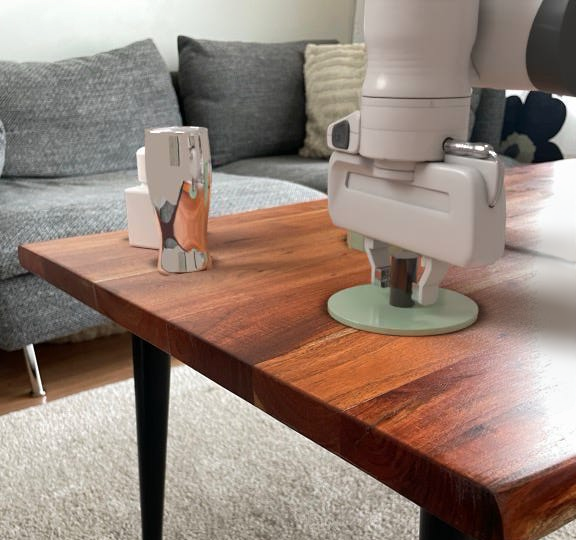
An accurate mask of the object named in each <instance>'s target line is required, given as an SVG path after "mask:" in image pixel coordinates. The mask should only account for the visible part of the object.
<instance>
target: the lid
mask: <svg viewBox="0 0 576 540" xmlns="http://www.w3.org/2000/svg"><path fill="white" fill-rule="evenodd" d="M419 259H420V256H418V255H417V254H414V253H409V252H398V253H394V254H392V256H391V258H390V262H391V274H390V287H387V288H381V287H378V286H375V285H373V284H372V283H368V284H360V285H356V286H351V287H348V288H344V289H341V290H339V291H337V292H335V293H334V294H332V295H331V296H330V297H329V298H328V299H327V300H328V301H327V313H328V314H329V315H330V317H331V318H332V319H334V320H335V321H337V322H339V323H341V324H343V325H345V326H347V327H350V328H352V329H357V330H360V331H364V332H368V333H374V334H381V335H388V336H389V335H390V336H400V337H401V336H402V337H420V336H421V337H424V336H436V335H444V334H449V333H453V332H456V331H460V330H462V329H465V328H467V327H470V326H471V325H472V324H474V323H475V322H476V321H477V319H478V316H479V306H478V304H477V303H476V302H475V300H473V299H472V298H470V297H468V296H466V295H464V294H463V293H460V292H457V291H454V290H451V289H448V288H444V287H440V286H439V288H438V299H437V301H436V303H434V304H431V305H426V306H424V305H421V304H419V303H417V302H414V301H413V300H412V299H411V295H412V293H413V292H412V283H414V282H418V274H419V273H418V272H419Z"/></svg>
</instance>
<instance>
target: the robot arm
mask: <svg viewBox="0 0 576 540" xmlns="http://www.w3.org/2000/svg"><path fill="white" fill-rule="evenodd" d="M363 9H364V10H363V32H362V33H363V42H364V47H365V52H366V60H367V61H366V72H365V77H364V81H363V83H362V87H361V93H360V95H361V97H360V109H357V110H355V111H353V112H352V113H350V114H348V115H347V116H345V117H344V116H343V117H342V118H340V119H337V120H336V121H334V122H332V123H330V124H329V125H328V127H327V130H326V142H327V146H328V148H329V149H330V150H333V152H332V153H331V155H330V157H329V162H328V167H327V211H328V214H329V215H328V216H329V217H330V220H331V222H332V225H333V226H334V227H337V228H339V229H341V230H346V231H347V230H349V231H352V232H355V233H358V234H361V235H364V236H365V245H364V247H365V250H366V252H365V253H366V256H367V259H368V262H369V265H370V267H371V277H370V282H371V284H373V285H375V286H378V287H381V288H387V287H390V274H391V258H390V256H389V252H388V247H390V246H391V245H394V246H397V247H400V248H403V249H406V250H409V251H412V252H415V253H418V254H421V255H422V256H420V258H421V259H420V266H421V268H424V271H423V273H422V275H421V277H420V278H419V279H420V280H419V281H417V282H414V283H412V292H413V293H412V295H411V299H412V300H413V301H414V302H417V303H419V304H421V305H424V306H426V305H431V304H434V303H436V301H437V299H438V288H439V287H440V286H439V285H440V284H441V283H442V281H443V280H444V278H445V277H446V275H447V273H448V272H449V271H450V269H451V266H454V267H457V268H461V269H463V270H473V269H480V268H485V267H490V266H494V265H495V264H496V263H497V262H498V261H499V260H500V258H501V257H502V256H503V255H504V252H505V247H506V246H505V245H506V233H507V232H506V230H507V196H506V195H507V193H506V184H505V175H506V168H505V163H504V161H502V159H501V157H500V156H499V154H498V153H497V151H495V150H494V147H493V146H492V145H491V144H489V143H486V142H471V141H468V133H469V123H470V111H471V101H472V88H480V89H481V88H482V89H493V90H497V91H498V90H502V91H527V92H529V91H530V92H531V91H532V92H542V93H545V94H551V95H557V96H564V97H571V98H576V0H364V8H363ZM491 158H492V159H491Z"/></svg>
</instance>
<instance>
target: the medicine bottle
mask: <svg viewBox="0 0 576 540" xmlns="http://www.w3.org/2000/svg"><path fill="white" fill-rule="evenodd" d="M135 154H136V165H137V178H138V181H139V182H140V183H141V185H136V186H131V187H128V188H127V187H126V188H125V189H124V191H123V193H124V202H125V203H124V204H125V213H126V214H125V215H126V222H127V224H126V225H127V233H128V234H127V235H128V243H129V246H130V247H135V248H144V249H150V250H151V249H152V250H159V234H158V228H157V224H156V220H155V216H154V212H153V208H152V204H151V200H150V196H149V191H148V186H147V179H146V168H145V145H144V146H142V147H140V148H139V149H137V151H136V152H135Z"/></svg>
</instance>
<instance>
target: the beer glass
mask: <svg viewBox="0 0 576 540" xmlns="http://www.w3.org/2000/svg"><path fill="white" fill-rule="evenodd" d="M143 130H144V146H145V168H146V179H147V186H148V191H149V196H150V200H151V204H152V208H153V212H154V216H155V220H156V224H157V228H158V234H159V249H158V260H157V271H158V273H159V274H161V275H163V276H167V277H170V276H178V275H183V274H192V273H197V272H204V271H211V270H213V263H212V258H211V254H210V250H209V249H210V248H209V243H208V226H209V225H208V224H209V215H210V209H211V200H212V199H211V198H212V189H213V188H212V185H213V170H212V169H213V168H212V156H211V155H212V154H211V148H210V147H211V146H210V140H209V129H208V128H207V127H202V126H190V125H189V126H188V125H186V126H185V125H184V126H182V125H181V126H179V125H178V126H177V125H176V126H157V127H149V128H146V129H145V128H144V129H143Z"/></svg>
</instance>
